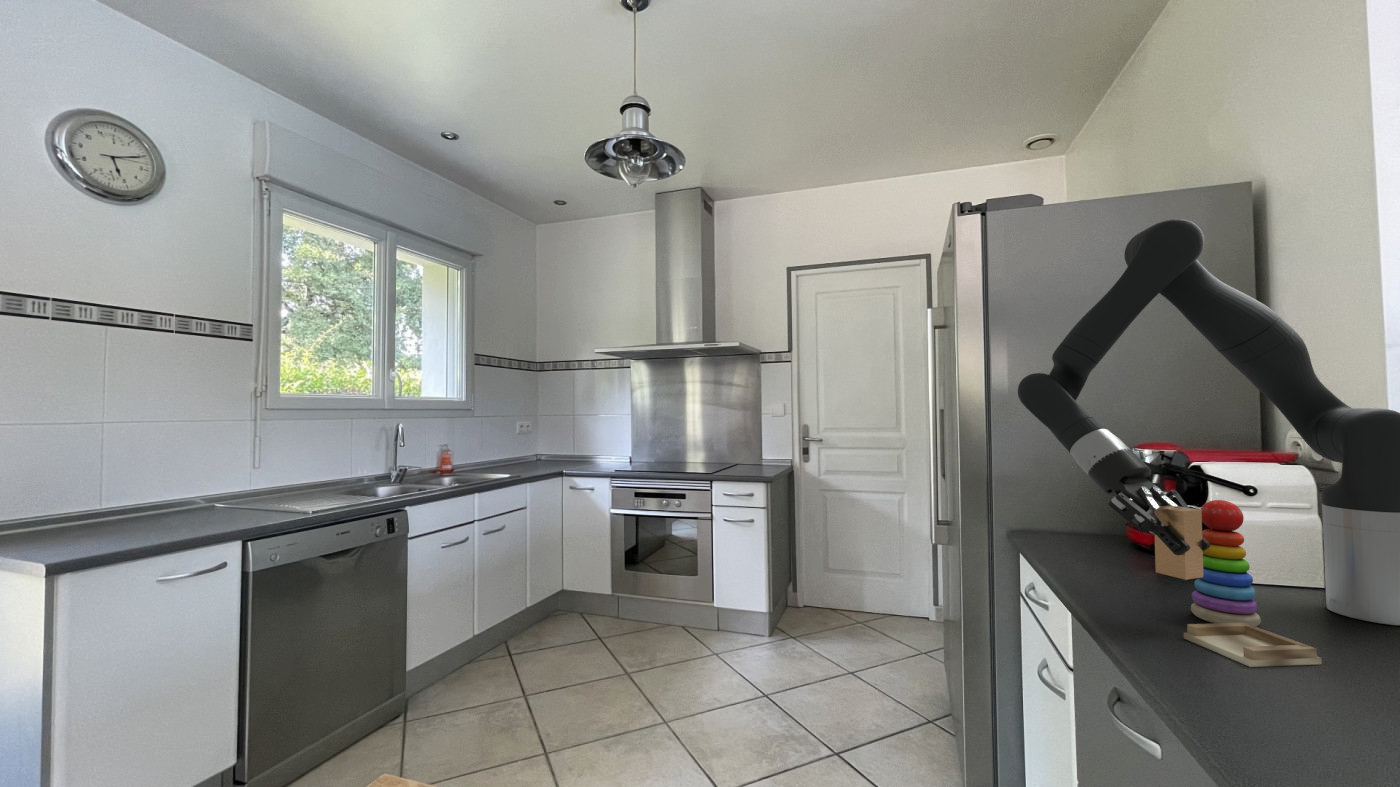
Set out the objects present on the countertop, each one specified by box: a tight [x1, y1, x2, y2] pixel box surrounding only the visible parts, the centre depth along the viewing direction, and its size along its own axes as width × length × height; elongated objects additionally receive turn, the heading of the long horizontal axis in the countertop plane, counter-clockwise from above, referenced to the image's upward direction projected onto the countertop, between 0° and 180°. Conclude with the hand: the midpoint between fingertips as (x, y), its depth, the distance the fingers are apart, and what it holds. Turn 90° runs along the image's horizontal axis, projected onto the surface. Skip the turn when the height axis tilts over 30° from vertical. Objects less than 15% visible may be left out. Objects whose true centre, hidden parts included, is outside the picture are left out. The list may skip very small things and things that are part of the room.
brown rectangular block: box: [1154, 506, 1203, 581], centre depth 84 cm, size 4×4×10 cm
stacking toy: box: [1190, 499, 1262, 627], centre depth 87 cm, size 8×8×19 cm
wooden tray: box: [1183, 623, 1322, 668], centre depth 76 cm, size 10×9×2 cm
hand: (1194, 550), depth 82 cm, fingers closed on brown rectangular block, 4 cm apart
